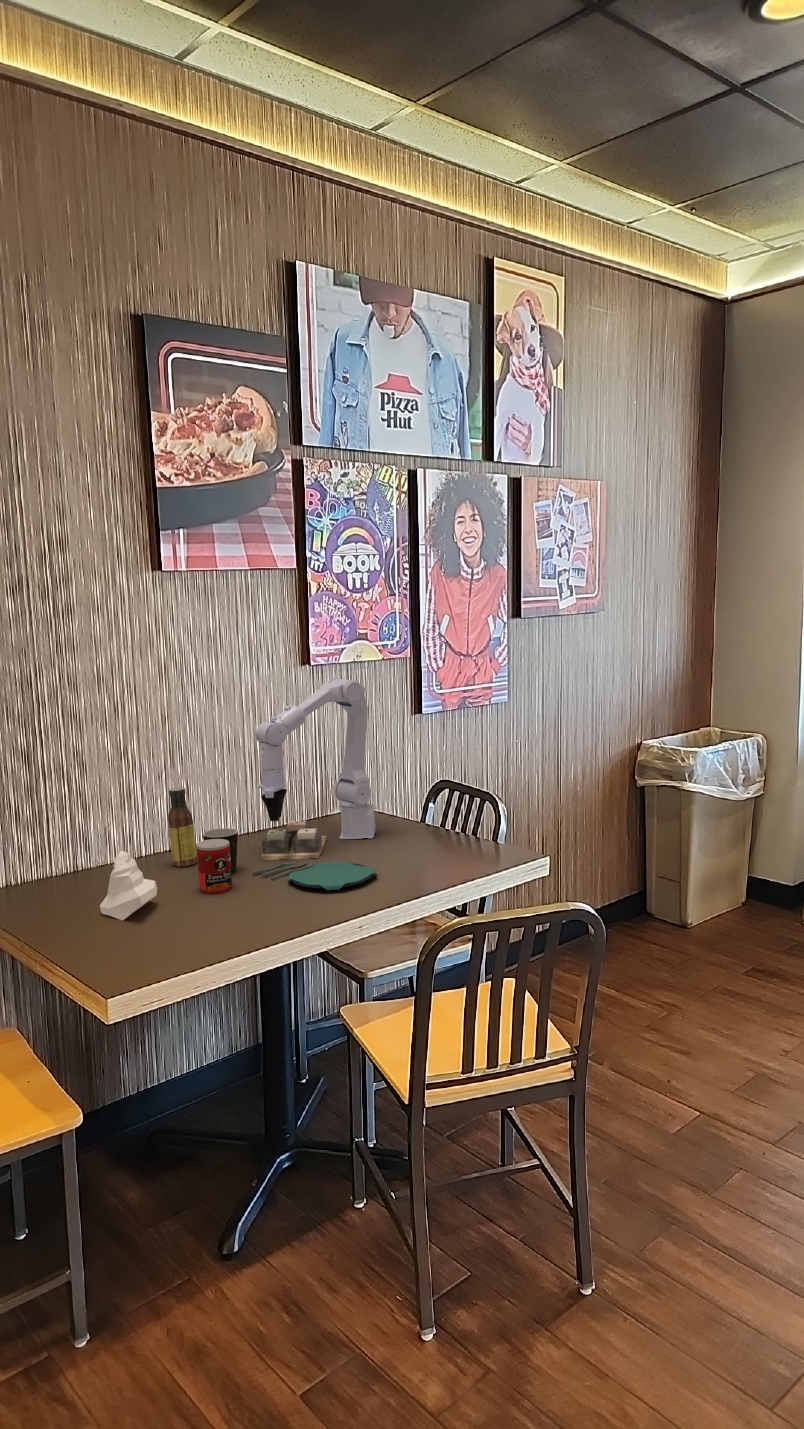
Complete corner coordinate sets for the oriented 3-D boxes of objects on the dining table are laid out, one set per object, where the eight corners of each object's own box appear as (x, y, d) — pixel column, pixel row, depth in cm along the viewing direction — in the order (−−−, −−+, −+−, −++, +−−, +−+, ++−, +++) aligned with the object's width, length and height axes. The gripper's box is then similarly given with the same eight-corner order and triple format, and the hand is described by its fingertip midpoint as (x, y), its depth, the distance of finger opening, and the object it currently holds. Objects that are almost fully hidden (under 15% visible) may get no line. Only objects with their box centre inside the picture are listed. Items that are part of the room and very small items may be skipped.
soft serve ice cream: (92, 930, 205) (73, 866, 205) (122, 912, 220) (104, 852, 220) (145, 915, 203) (126, 851, 203) (172, 898, 218) (154, 838, 218)
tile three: (306, 830, 263) (305, 820, 263) (304, 834, 259) (303, 824, 258) (290, 831, 263) (289, 820, 263) (287, 835, 259) (287, 824, 258)
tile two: (286, 839, 254) (286, 828, 254) (284, 844, 250) (283, 833, 249) (270, 840, 254) (269, 829, 254) (267, 844, 250) (266, 833, 250)
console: (327, 839, 265) (326, 823, 265) (318, 858, 247) (317, 841, 246) (273, 840, 266) (272, 824, 265) (260, 860, 247) (259, 843, 247)
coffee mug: (205, 868, 242) (203, 829, 241) (240, 865, 244) (237, 826, 242) (204, 881, 231) (202, 841, 229) (241, 878, 232) (238, 838, 231)
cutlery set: (333, 899, 214) (333, 889, 214) (244, 879, 233) (244, 870, 233) (391, 877, 229) (391, 868, 229) (303, 860, 248) (303, 852, 248)
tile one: (316, 838, 254) (316, 828, 254) (314, 843, 250) (314, 832, 249) (300, 839, 254) (299, 828, 254) (297, 843, 250) (297, 832, 249)
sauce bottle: (200, 860, 249) (195, 785, 247) (193, 867, 243) (187, 790, 240) (176, 860, 250) (170, 786, 247) (168, 867, 244) (162, 791, 241)
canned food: (207, 896, 220) (203, 849, 218) (194, 887, 226) (190, 842, 225) (238, 889, 224) (235, 843, 223) (224, 881, 231) (221, 836, 229)
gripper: (262, 763, 257) (265, 812, 259) (252, 774, 242) (255, 826, 244) (288, 762, 257) (291, 812, 258) (279, 773, 242) (282, 825, 244)
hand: (275, 819), depth 251 cm, fingers open, 3 cm apart
